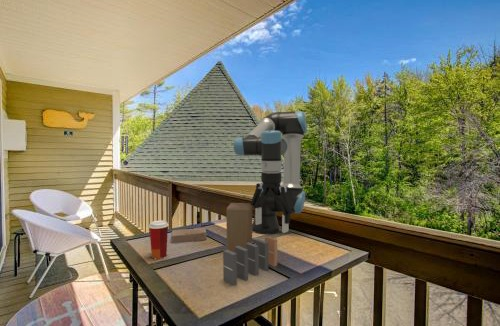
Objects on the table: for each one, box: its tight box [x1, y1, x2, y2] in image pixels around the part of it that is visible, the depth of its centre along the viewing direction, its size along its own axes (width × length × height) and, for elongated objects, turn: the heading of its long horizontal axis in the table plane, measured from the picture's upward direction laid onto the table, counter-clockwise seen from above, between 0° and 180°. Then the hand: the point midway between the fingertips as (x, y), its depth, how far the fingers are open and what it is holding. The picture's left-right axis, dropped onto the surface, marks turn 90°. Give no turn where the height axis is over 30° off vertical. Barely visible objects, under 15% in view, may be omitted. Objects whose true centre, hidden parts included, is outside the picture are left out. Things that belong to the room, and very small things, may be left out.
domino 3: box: [246, 242, 260, 276], centre depth 92 cm, size 2×5×10 cm, turn 43°
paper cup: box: [148, 219, 170, 260], centre depth 106 cm, size 8×8×14 cm
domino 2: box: [235, 246, 249, 281], centre depth 89 cm, size 2×5×10 cm, turn 44°
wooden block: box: [226, 202, 253, 253], centre depth 112 cm, size 10×10×20 cm
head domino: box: [264, 236, 278, 268], centre depth 99 cm, size 2×5×10 cm, turn 44°
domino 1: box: [222, 249, 238, 286], centre depth 85 cm, size 2×5×10 cm, turn 43°
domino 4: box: [255, 238, 269, 272], centre depth 96 cm, size 2×5×10 cm, turn 43°
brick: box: [170, 227, 208, 244], centre depth 127 cm, size 17×8×5 cm, turn 105°
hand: (271, 227), depth 99 cm, fingers open, 13 cm apart
